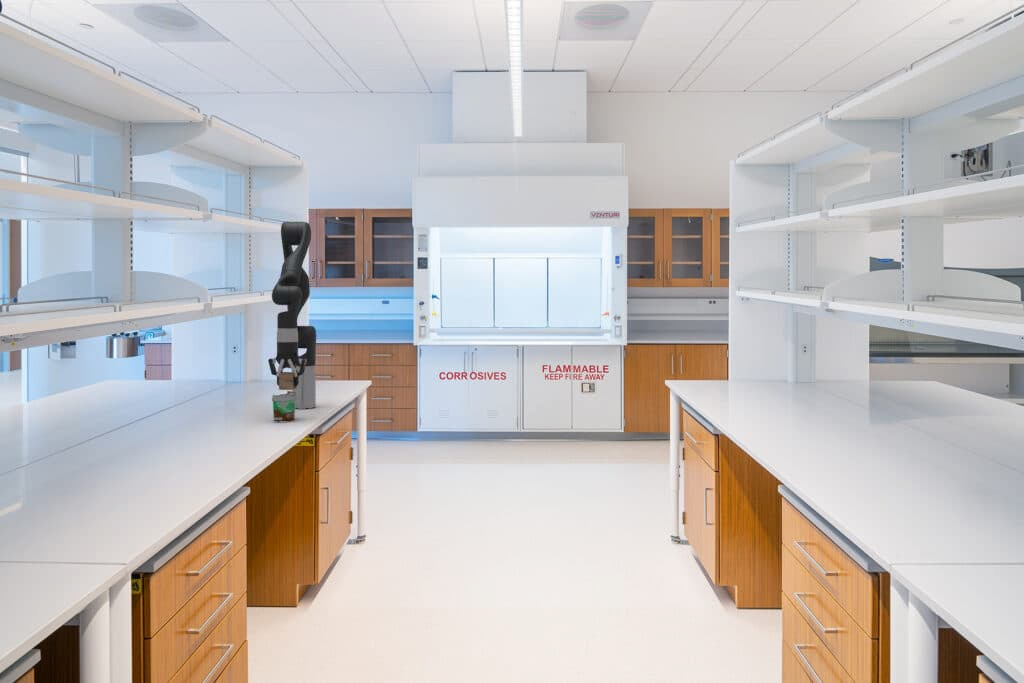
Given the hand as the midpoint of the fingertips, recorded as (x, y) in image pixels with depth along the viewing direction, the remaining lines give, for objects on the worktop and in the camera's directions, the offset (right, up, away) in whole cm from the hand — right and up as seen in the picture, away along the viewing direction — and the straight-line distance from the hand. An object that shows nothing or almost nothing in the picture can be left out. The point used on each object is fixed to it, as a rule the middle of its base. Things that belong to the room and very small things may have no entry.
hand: (287, 386), depth 290 cm
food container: (0, -13, +1) cm, 13 cm away
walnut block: (0, -1, 0) cm, 1 cm away
